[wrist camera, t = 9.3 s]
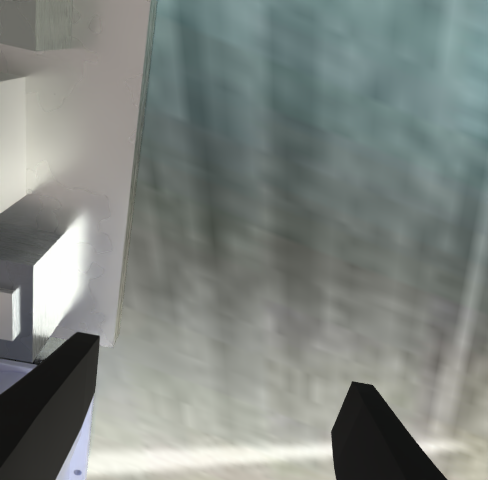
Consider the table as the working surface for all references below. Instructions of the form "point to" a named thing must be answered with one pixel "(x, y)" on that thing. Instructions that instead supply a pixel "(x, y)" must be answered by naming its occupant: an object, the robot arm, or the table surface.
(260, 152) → the table surface
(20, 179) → the block
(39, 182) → the board
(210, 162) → the table surface
